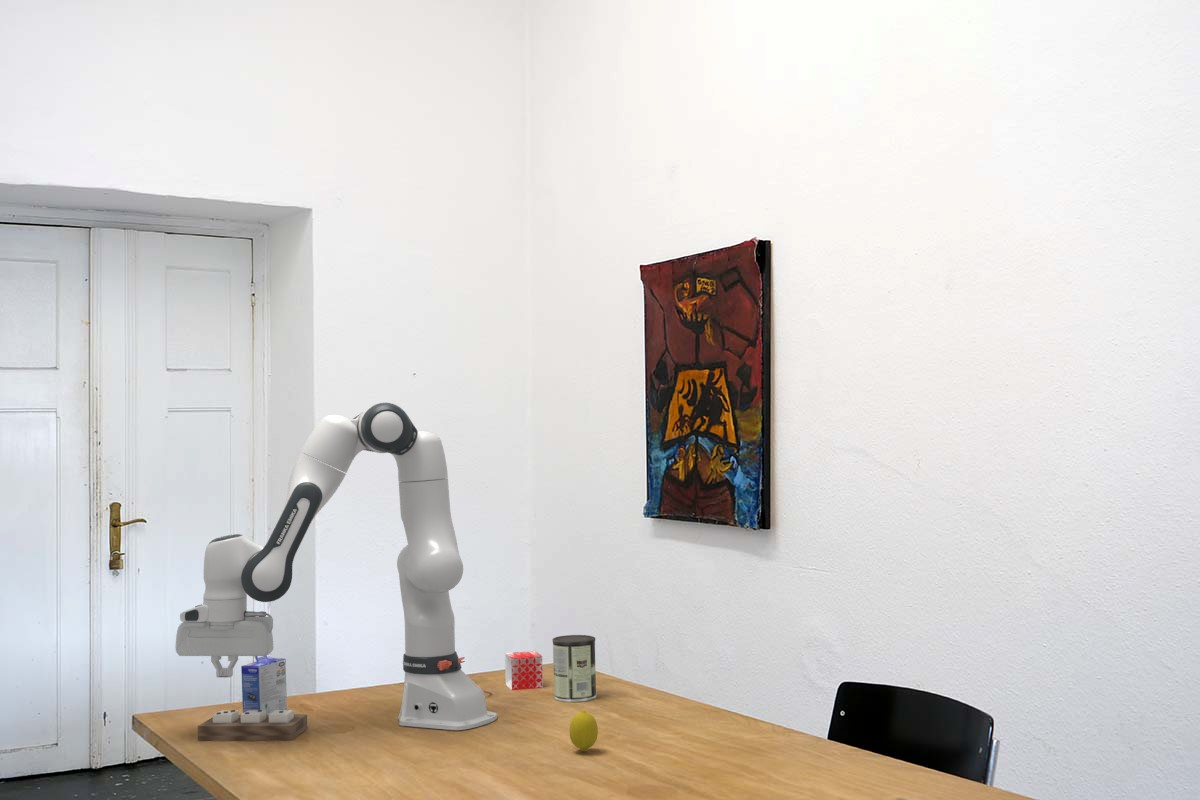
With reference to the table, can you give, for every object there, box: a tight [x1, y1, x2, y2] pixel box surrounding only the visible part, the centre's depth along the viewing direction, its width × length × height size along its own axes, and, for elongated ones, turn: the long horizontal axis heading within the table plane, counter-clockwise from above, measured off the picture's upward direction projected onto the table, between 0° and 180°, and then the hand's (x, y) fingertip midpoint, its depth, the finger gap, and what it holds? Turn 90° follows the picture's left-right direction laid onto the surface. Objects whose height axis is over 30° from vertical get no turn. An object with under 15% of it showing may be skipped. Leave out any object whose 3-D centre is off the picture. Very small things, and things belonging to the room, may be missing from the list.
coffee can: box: [551, 634, 597, 703], centre depth 267 cm, size 10×10×14 cm
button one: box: [269, 709, 295, 723], centre depth 236 cm, size 4×4×3 cm
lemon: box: [569, 709, 599, 753], centre depth 218 cm, size 6×6×8 cm
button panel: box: [197, 713, 308, 742], centre depth 237 cm, size 20×10×3 cm, turn 87°
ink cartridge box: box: [241, 655, 288, 715], centre depth 254 cm, size 10×6×14 cm, turn 159°
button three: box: [212, 709, 240, 723], centre depth 237 cm, size 4×4×3 cm
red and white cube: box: [504, 650, 544, 691], centre depth 281 cm, size 8×8×8 cm
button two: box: [240, 710, 266, 723], centre depth 237 cm, size 4×4×3 cm
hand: (224, 677), depth 237 cm, fingers closed
